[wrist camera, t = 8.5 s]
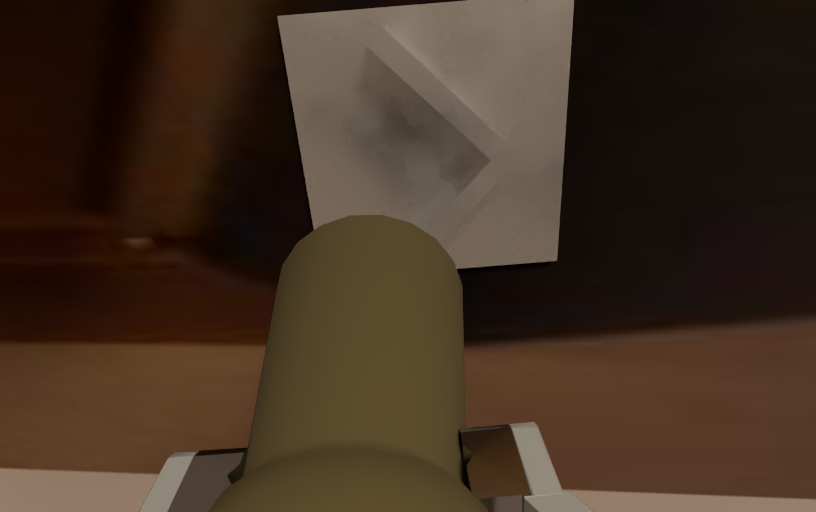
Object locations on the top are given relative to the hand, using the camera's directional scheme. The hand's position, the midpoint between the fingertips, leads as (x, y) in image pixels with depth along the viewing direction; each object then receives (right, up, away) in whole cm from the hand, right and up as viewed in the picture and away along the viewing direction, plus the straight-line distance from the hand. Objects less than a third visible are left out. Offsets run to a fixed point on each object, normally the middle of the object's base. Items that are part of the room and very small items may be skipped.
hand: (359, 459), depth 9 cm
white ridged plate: (+3, +11, +20) cm, 23 cm away
